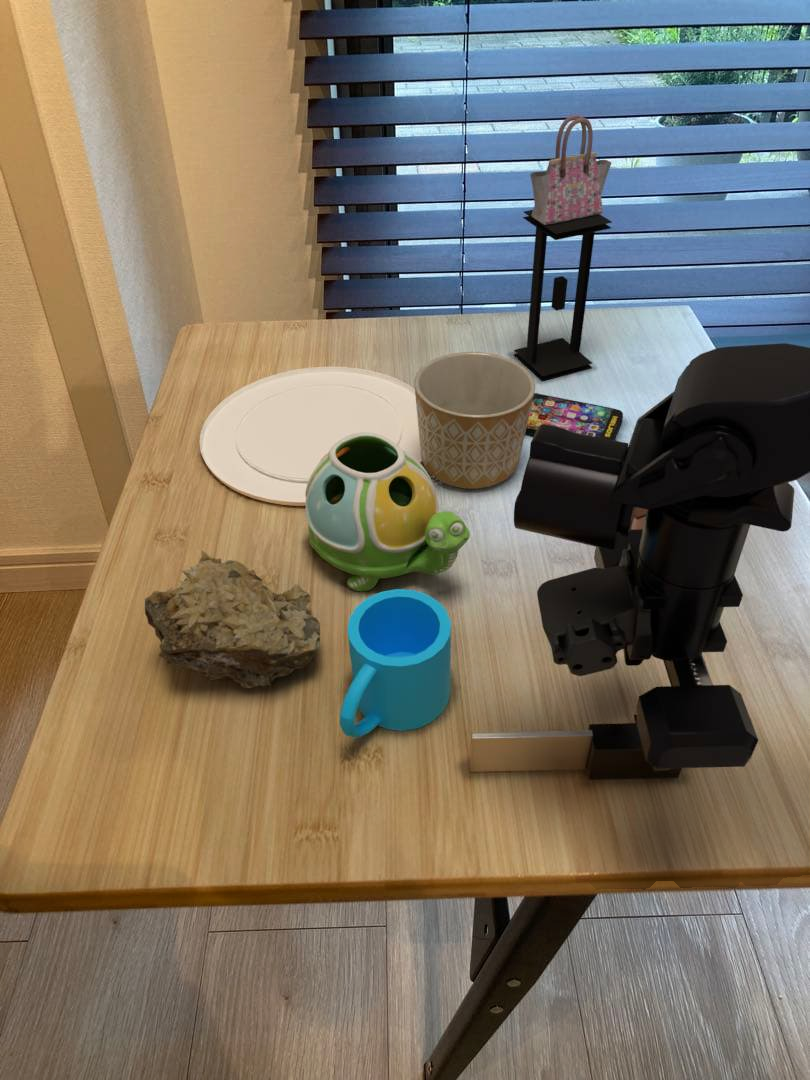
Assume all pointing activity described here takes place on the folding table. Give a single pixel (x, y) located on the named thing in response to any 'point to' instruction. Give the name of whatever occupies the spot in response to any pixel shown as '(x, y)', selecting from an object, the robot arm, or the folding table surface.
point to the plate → (302, 427)
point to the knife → (568, 752)
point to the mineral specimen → (233, 624)
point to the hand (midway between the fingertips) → (645, 713)
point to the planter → (472, 417)
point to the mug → (397, 662)
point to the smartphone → (574, 417)
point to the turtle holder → (378, 513)
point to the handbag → (563, 212)
